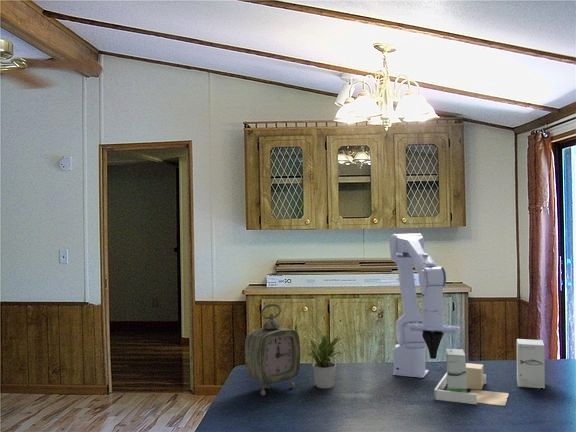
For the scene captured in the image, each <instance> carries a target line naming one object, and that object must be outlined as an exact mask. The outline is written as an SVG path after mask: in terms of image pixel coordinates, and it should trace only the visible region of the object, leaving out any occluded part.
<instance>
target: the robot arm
mask: <svg viewBox="0 0 576 432" xmlns="http://www.w3.org/2000/svg"><path fill="white" fill-rule="evenodd" d="M424 247H425V240H424V236H423V234H421V233H420V232H418V233H397V234H396V233H392V234H391V235H390V238H389V253H390V258H391V261H392V262H394V263H395V264H396V267H397V273H398V280H399V288H400V297H401V298H400V299H401V305H402V306H401V308H402V315H401V316H400V317H399V318H397V320H396V321H395V331H394V333H395V339H396V343H397V344H395V345H394V348H393V375H394V376H399V377H400V376H401V377H409V378H410V377H412V378H421V379H422V378H425V377H426V376H427V374H428V373H429V372H430V371H429V369H426V347H427V349H428V353H429V358H430V359H431V360H432V359H433V360H436V359H437V356H438V351H439V347H440V343H441V341H442V339H443V336H444V335H445V334H452V335H458V336H459V335H460V334H461V326H458V325H449V324H444V288H445V286H446V283H447V273H446V270H445V268H444V266H442V265H441V266H440V265H437V264H436V263H435V261H434V260H433V258H432V256H431V255H430V254H429V253H426V252H425V251H424ZM414 269H415V271H416V272H417V274H418V283H419V289H420V290H419V291H420V293H421V300H422V301H421V303H422V304H421V307H422V310H421V311H422V314H421V313H419V305H418V298H417V290H416V283H415V275H414V274H415V273H414Z"/></svg>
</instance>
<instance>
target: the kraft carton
mask: <svg viewBox="0 0 576 432" xmlns="http://www.w3.org/2000/svg"><path fill="white" fill-rule="evenodd" d="M483 374H484V364H481V363H470V362H466V379H467V389H469V390H470V389H472V390H481V391H482V389H483V387H484V385H485V384H484V378H483Z"/></svg>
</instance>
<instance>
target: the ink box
mask: <svg viewBox="0 0 576 432" xmlns="http://www.w3.org/2000/svg"><path fill="white" fill-rule="evenodd" d="M445 352H446V353H445V355H446V372H447V384H446V386H447V391H455V392H464V393H468V388H467V379H466V363H467V362H466V353H465V350H464V349H461V348H459V349H458V348H445Z"/></svg>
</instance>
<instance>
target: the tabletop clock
mask: <svg viewBox="0 0 576 432" xmlns="http://www.w3.org/2000/svg"><path fill="white" fill-rule="evenodd" d="M270 307H276V308H278V313H277V314H275V315H274V314H273V313H269V316H265V315H264V311H265V310H266V309H267V308H270ZM281 311H282V308H281V307H280V305H278V304H276V303H269V304H266V305H265V306H264V307H263V308H262V309H261V316H262V317H263V319H267V320H265V321H264V322H263V326H262V327H261V328H258V329H255V330H252V331H251V332H249V333H248V334H246V337H245V342H244V362H245V365H244V366H245V370H246V373H247V375H248V377H249V378H251V379H254V380H258V381H259V382H261V387H262V388H261V390H260V396H262V397H264V396H266V394H267V393H266V390H265V389H270V388H271V384H276V383H280V382H284V381H287V382H288V383H289V385H288V386H289V387H290V388H291V389H294V388H295V386H296V385H295V382H292V381H291V379H292V378H295V377H296V376H297V375H298V374H299V371H300V366H301V342H300V336H299V333H298V331H296V330H294V329H289V328H285V327H281V325H280V322H279V321H278V320H276V318H278V317H279V316H280V314H281Z"/></svg>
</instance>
